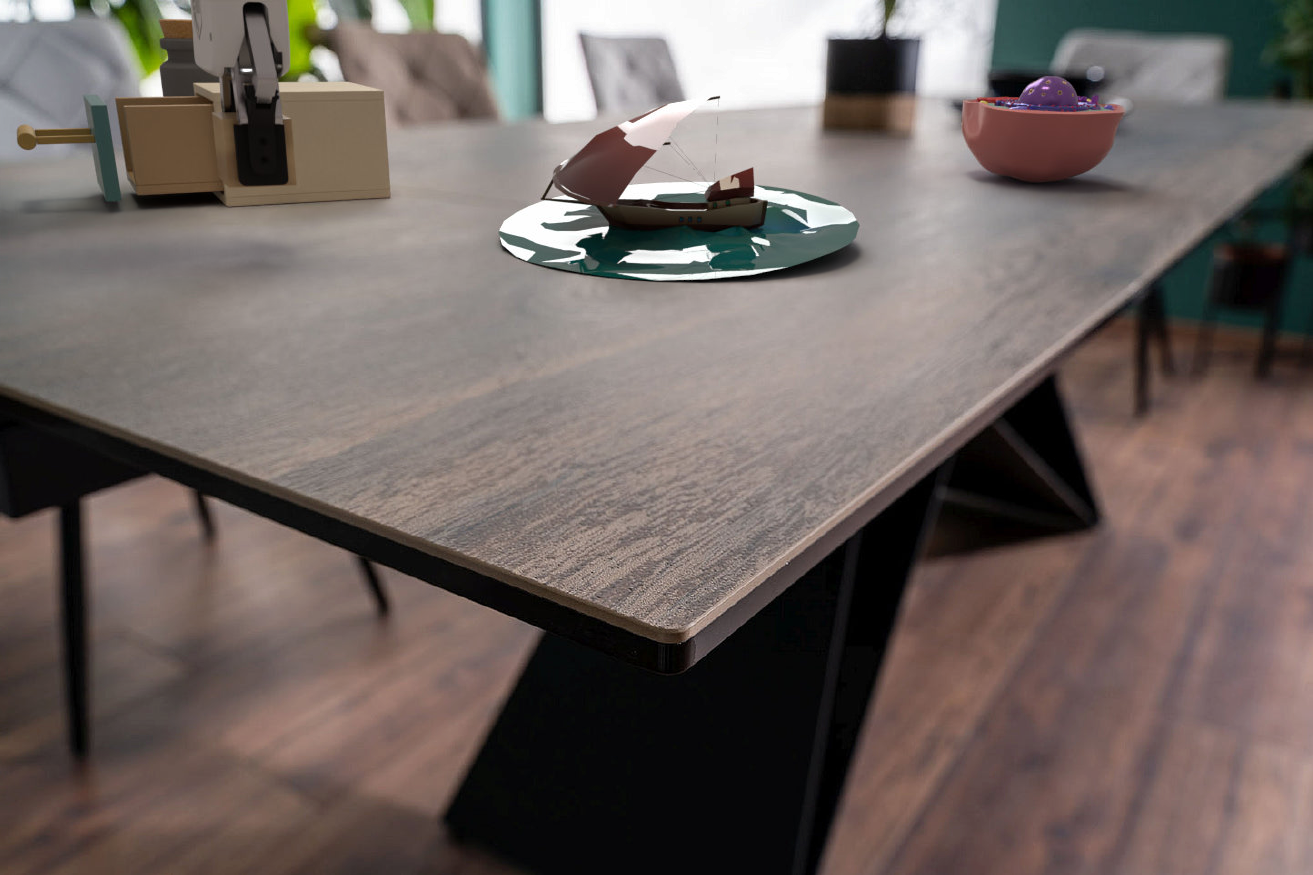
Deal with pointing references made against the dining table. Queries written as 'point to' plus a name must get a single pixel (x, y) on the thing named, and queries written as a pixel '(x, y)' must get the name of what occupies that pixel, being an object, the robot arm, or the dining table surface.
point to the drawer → (145, 144)
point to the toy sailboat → (669, 215)
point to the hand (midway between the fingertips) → (256, 176)
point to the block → (228, 153)
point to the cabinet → (324, 144)
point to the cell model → (1040, 131)
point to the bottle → (180, 60)
